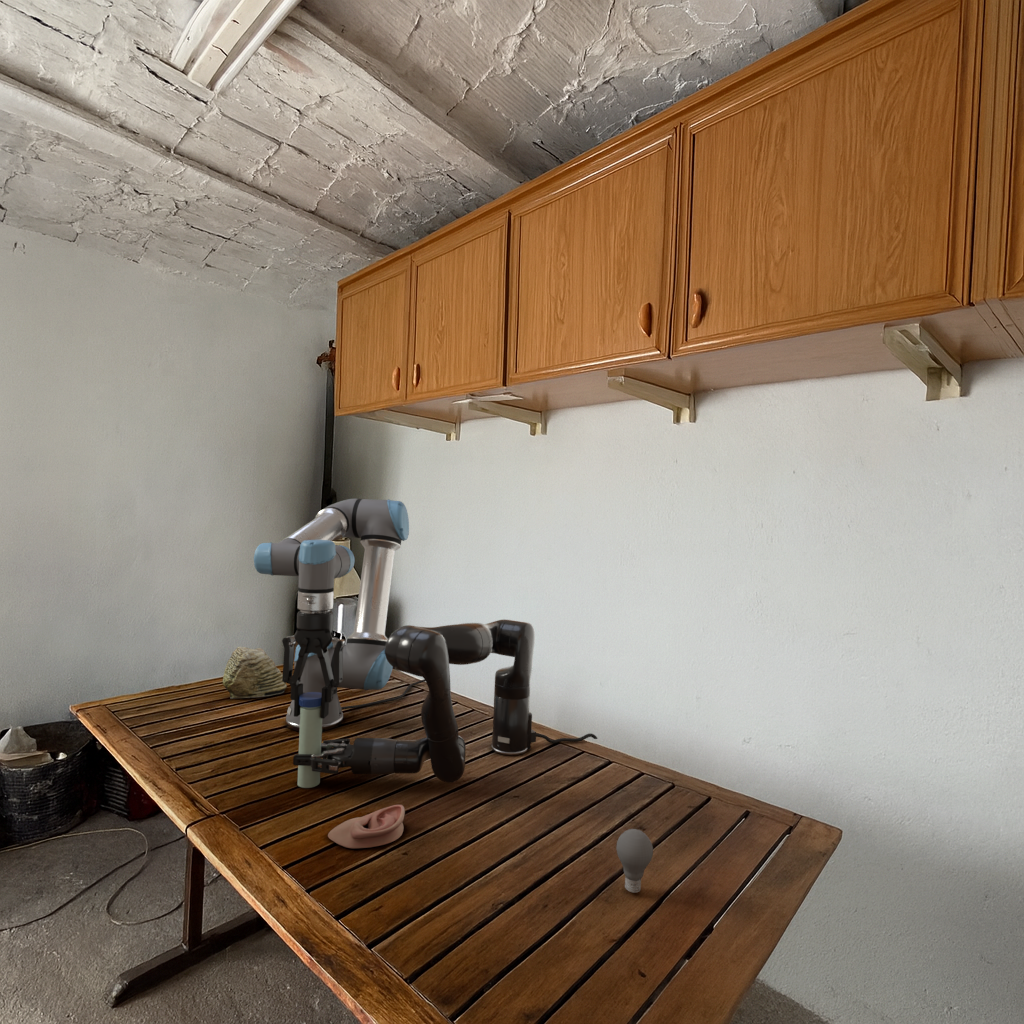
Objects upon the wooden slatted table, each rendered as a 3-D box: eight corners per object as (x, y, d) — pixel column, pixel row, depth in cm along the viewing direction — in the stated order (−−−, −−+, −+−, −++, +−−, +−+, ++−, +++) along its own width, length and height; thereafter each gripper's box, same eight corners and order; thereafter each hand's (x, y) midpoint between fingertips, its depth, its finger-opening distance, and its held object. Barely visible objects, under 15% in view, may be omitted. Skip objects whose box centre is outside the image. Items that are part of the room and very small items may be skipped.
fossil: (218, 695, 195) (220, 647, 195) (278, 685, 208) (279, 640, 207) (228, 703, 189) (230, 653, 188) (289, 692, 201) (290, 645, 201)
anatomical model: (320, 822, 115) (348, 794, 127) (319, 843, 116) (348, 813, 127) (388, 833, 113) (411, 803, 124) (387, 855, 113) (410, 823, 124)
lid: (293, 703, 139) (293, 695, 139) (314, 698, 143) (314, 690, 143) (308, 709, 136) (309, 701, 136) (329, 703, 140) (330, 695, 140)
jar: (306, 790, 136) (309, 704, 136) (292, 783, 139) (296, 699, 139) (324, 782, 140) (327, 699, 140) (311, 776, 143) (314, 694, 143)
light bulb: (610, 879, 108) (613, 822, 108) (644, 879, 109) (647, 822, 109) (619, 902, 102) (622, 840, 102) (655, 901, 103) (658, 840, 103)
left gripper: (267, 611, 136) (263, 718, 136) (350, 615, 135) (346, 724, 135) (282, 605, 143) (278, 707, 144) (361, 609, 142) (357, 712, 143)
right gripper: (380, 727, 148) (306, 726, 147) (370, 752, 133) (288, 750, 132) (379, 759, 148) (305, 758, 147) (369, 787, 134) (287, 786, 132)
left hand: (311, 715), depth 140 cm, fingers closed on lid, 5 cm apart
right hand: (297, 754), depth 139 cm, fingers closed on jar, 4 cm apart
